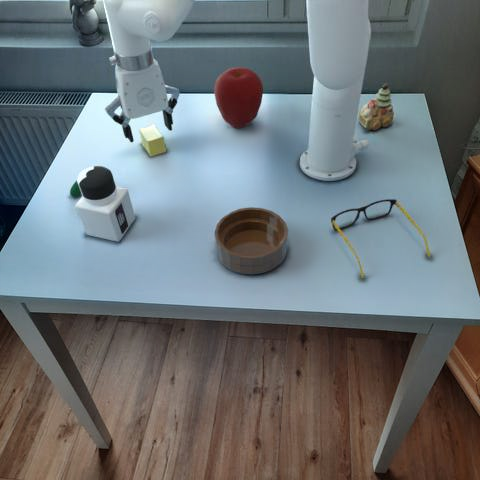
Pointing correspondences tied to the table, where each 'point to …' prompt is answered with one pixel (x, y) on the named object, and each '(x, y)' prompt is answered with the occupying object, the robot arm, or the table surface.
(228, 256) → the bowl
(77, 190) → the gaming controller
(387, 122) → the ornament
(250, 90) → the apple
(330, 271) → the table surface
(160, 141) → the cheese
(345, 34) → the robot arm
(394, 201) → the eyeglasses
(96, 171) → the container
